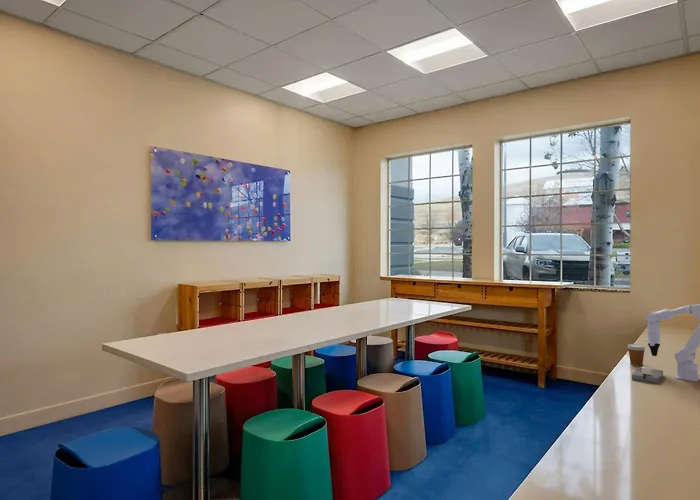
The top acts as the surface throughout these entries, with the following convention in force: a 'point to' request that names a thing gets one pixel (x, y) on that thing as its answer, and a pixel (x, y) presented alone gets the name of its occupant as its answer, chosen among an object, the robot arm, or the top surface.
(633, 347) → the disposable coffee cup
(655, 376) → the fader console
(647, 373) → the fader tab
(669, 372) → the top surface
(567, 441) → the top surface
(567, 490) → the top surface
